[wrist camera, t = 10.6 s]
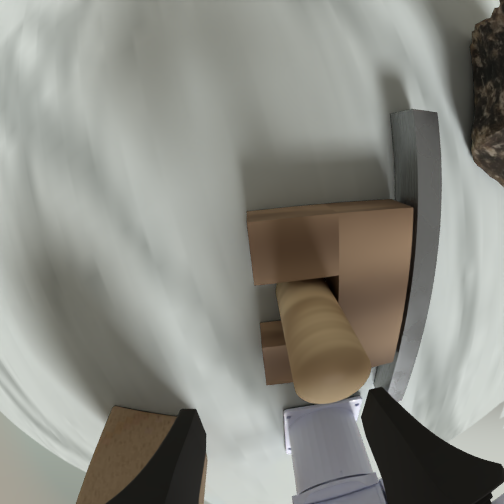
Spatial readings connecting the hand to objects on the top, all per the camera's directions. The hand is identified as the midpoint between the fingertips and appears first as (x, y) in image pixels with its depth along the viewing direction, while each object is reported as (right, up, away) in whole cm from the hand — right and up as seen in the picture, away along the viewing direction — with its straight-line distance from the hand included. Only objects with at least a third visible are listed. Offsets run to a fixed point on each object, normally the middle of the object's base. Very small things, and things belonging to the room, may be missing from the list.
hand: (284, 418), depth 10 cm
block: (+4, +4, +9) cm, 11 cm away
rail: (+10, +5, +9) cm, 15 cm away
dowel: (+2, +4, +10) cm, 11 cm away
